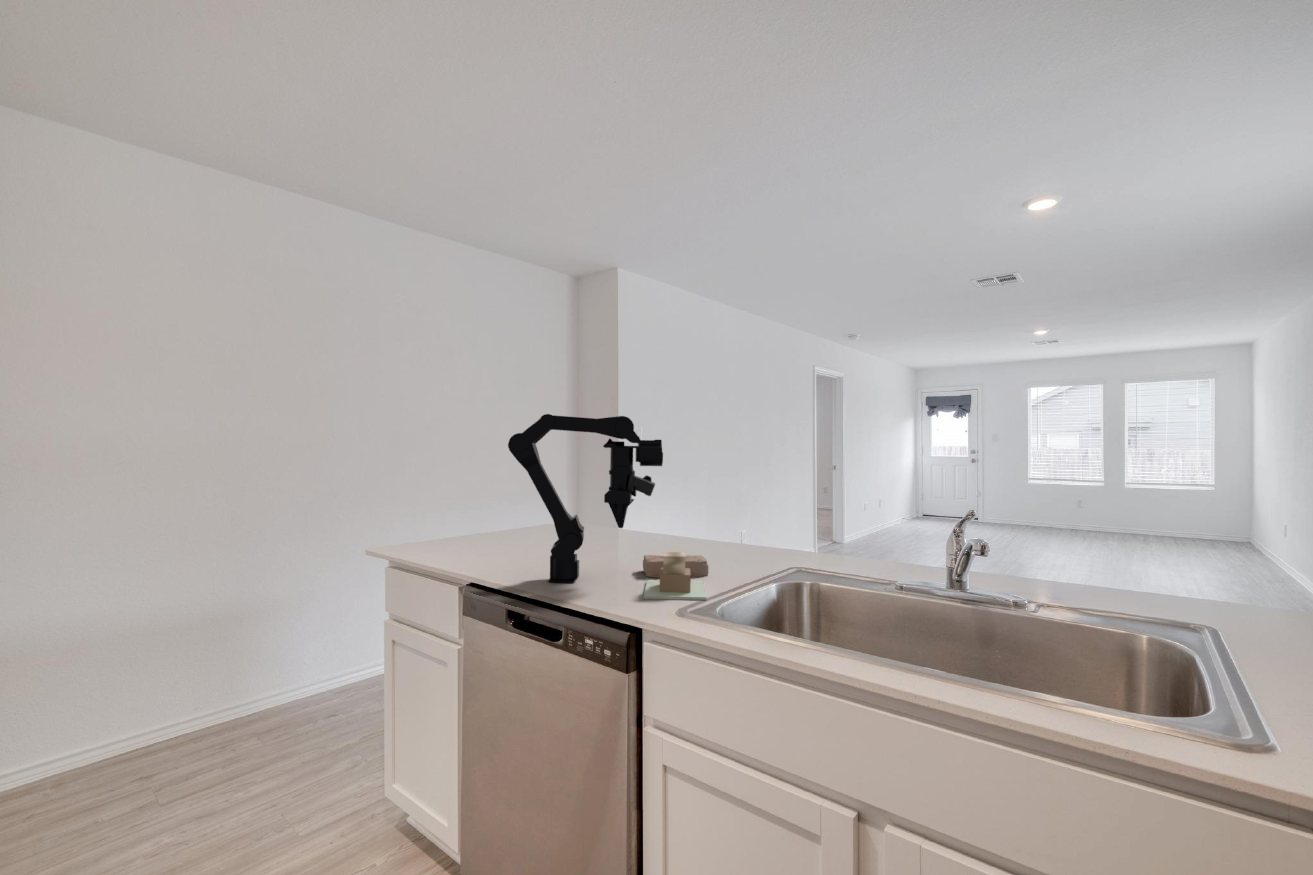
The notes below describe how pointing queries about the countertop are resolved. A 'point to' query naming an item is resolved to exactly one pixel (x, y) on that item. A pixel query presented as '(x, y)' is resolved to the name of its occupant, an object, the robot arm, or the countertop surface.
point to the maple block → (674, 563)
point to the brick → (695, 563)
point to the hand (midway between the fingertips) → (620, 527)
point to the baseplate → (683, 596)
